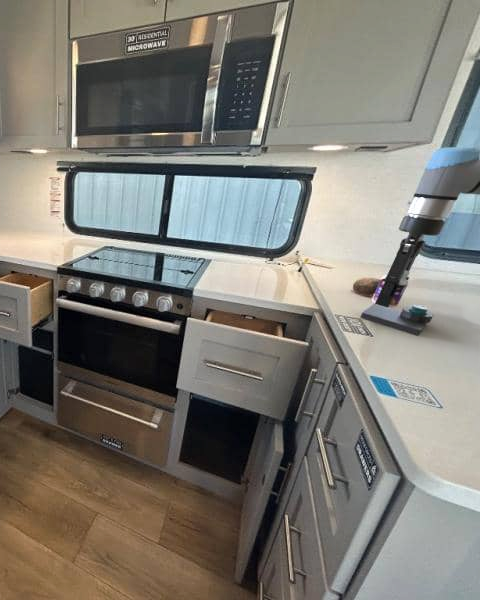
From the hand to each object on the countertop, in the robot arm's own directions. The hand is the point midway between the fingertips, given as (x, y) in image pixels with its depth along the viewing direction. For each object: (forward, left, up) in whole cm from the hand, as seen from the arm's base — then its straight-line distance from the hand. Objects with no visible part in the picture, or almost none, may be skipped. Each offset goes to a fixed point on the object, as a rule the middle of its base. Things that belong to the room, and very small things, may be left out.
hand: (384, 302), depth 90 cm
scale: (-3, -2, -5) cm, 6 cm away
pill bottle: (0, 0, -1) cm, 1 cm away
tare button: (-7, -6, -2) cm, 9 cm away
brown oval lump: (+8, -22, -5) cm, 24 cm away
